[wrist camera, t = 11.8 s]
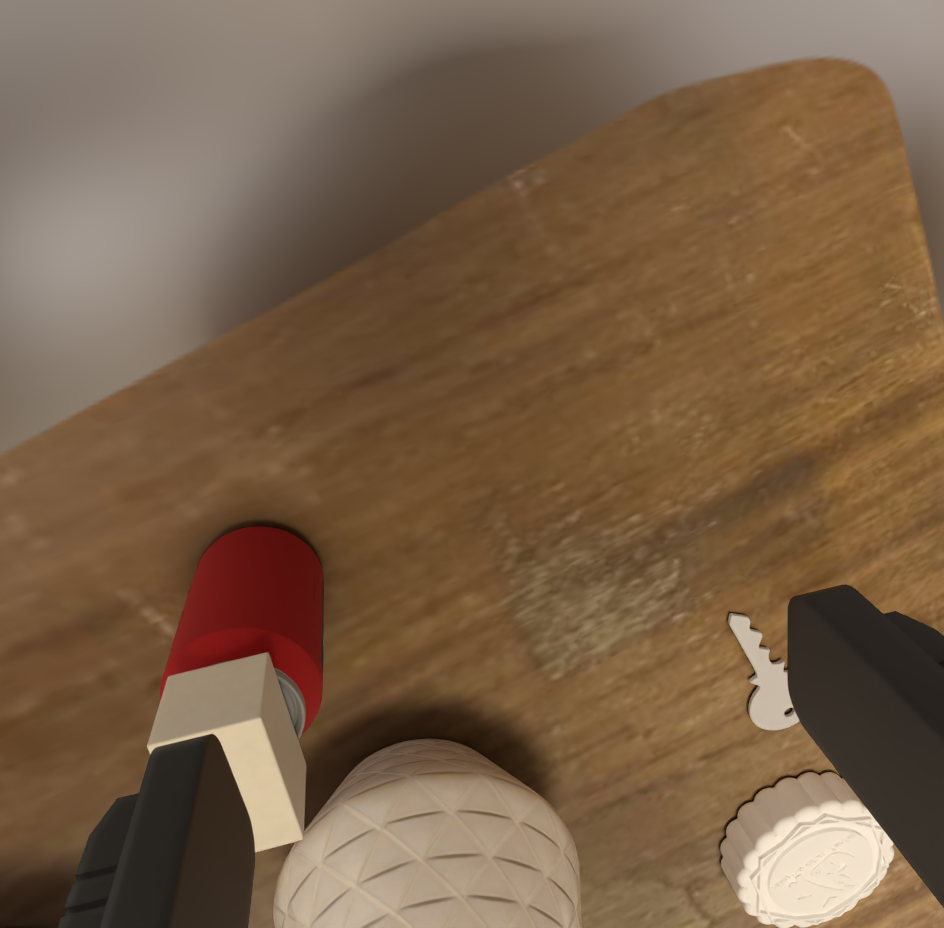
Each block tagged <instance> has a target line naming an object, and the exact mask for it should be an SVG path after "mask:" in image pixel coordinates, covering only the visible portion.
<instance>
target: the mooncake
mask: <svg viewBox="0 0 944 928" xmlns="http://www.w3.org/2000/svg"><path fill="white" fill-rule="evenodd" d="M726 836H727V838H725V839H724V840H723V842H722V843H721V846H720V851H721V854H722V855H723V858H722V860H721V867H722V869H723V871H724V873H725V875H726V877H727V878H728V880H729V882H730V884H731V886H732V888H733V889H734V891H735V893H736V895H737V897H738V899H739V900H740V902H741V904H742V906H743V908H744V910H745V911H746V912H747V913H748V914H750V915H752V916H756V918H757V919H758V921H759V922H761V923H763V924H775V925H776V926H777V927H779V928H789V927H792V926H793V925H796V926H798V927H808V926H811V925H818V924H820V923H821V922H826V921H829V920H831V919H833V918H834V917H840V916H841V915H842V914H843V913H844V912H846V911H849V910H851V909H852V908H853V907H854V906H855V905H856V904H857V901H858V900H860V899H862V898H865V897H867V896H868V895H870V894H871V893H872V891H873V889H874V888H875V887H877V886H878V885H879V881H881V880H882V879H883V878H884V877H885V875H886V873H887V868H888V867H889V863H890V862H891V861H892V859H893V857H894V850H893V848H892V846H893V844H894V843H893V842H892V841H891V839H890V838H889V837H888V835H887V834H886V833H885V832H884V830H883V829H882V828H881V826H880V825H879V824H878V822H877V821H876V820H875V819H874V817H873V816H872V815H871V813H870V812H869V811H868V810H867V808H866V807H865V806H864V804H863V803H862V802H861V801H860V799H859V798H858V797H857V795H856V794H855V793H854V792H853V790H852V789H851V788H850V786H849V785H848V784H847V783H846V781H845V780H844V779H843V778H840V777H839V776H838V775H837V774H835V773H832V772H826V773H823V774H821V775H818V774H816V773H813V772H807V773H804V774H802V775H800V776H799V777H798V778H797V779H795V778H785V779H782V780H780V781H779V782H778V783H777V784H776V785H775V787H773V788H766V789H763V790H761V791H760V792H759V793H758V794H757V795H756V796H755V798H754V801H753V802H749V803H746V804H745V805H743V806H742V807H741V808H740V809H739V811H738V815H737V819H735V820H733V821H732V822H730V823H729V825H728V826H727V828H726Z"/></svg>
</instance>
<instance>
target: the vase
mask: <svg viewBox="0 0 944 928" xmlns="http://www.w3.org/2000/svg"><path fill="white" fill-rule="evenodd" d="M273 916H274V925H275V928H581V898H580V870H579V858H578V854H577V850H576V847H575V843H574V840H573V838H572V835H571V833H570V831H569V829H568V827H567V825H566V824H565V822H564V821H563V820H562V818H561V817H560V815H559V814H558V812H557V811H556V810H555V809H554V808H553V807H552V806H551V805H550V804H549V803H548V802H547V801H546V800H545V799H544V798H543V797H541V796H540V795H539V794H537V793H536V792H535V791H533V790H532V789H530V788H529V787H528V786H526V785H525V784H523V783H522V782H520V781H519V780H517V779H516V778H515V777H513V776H512V775H510V774H509V773H507V772H506V771H504V770H503V769H502V768H500V767H499V766H497V765H496V764H494V763H493V762H491V761H490V760H489V759H487V758H486V757H484V756H483V755H481V754H480V753H478V752H477V751H475V750H473V749H471V748H470V747H468V746H465V745H463V744H460V743H457V742H453V741H449V740H443V739H415V740H409V741H404V742H400V743H396V744H393V745H391V746H388V747H385V748H383V749H381V750H379V751H377V752H375V753H373V754H372V755H370V756H369V757H367V758H365V759H364V760H363V761H362V762H360V763H359V764H358V765H357V766H356V767H355V768H354V769H353V770H352V771H351V772H350V773H349V774H348V775H347V776H346V778H345V779H344V780H343V781H342V783H341V784H340V785H339V787H338V788H337V789H336V790H335V792H334V793H333V794H332V796H331V797H330V798H329V800H328V801H327V802H326V803H325V805H324V806H323V807H322V809H321V810H320V811H319V813H318V814H317V815H316V816H315V818H314V819H313V820H312V822H311V823H310V824H309V825H308V827H307V828H306V829H305V831H304V838H303V840H300V841H296V842H295V844H294V845H293V847H292V849H291V850H290V852H289V854H288V855H287V857H286V859H285V862H284V864H283V866H282V869H281V871H280V874H279V877H278V880H277V884H276V889H275V893H274V909H273Z"/></svg>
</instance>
